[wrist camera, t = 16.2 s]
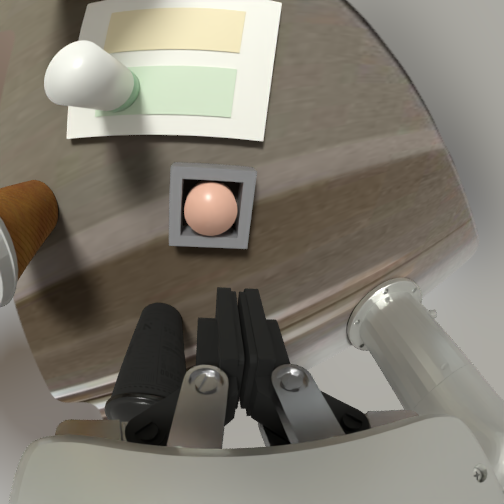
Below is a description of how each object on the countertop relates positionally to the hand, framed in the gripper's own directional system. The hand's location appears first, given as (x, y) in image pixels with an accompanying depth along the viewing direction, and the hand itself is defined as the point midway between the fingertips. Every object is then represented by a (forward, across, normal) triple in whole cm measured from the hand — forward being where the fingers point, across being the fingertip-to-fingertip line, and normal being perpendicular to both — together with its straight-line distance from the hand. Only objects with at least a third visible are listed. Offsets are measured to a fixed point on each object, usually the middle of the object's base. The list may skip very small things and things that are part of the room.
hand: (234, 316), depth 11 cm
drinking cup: (+16, +6, +13) cm, 22 cm away
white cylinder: (+14, +10, -11) cm, 20 cm away
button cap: (+15, +1, -1) cm, 15 cm away
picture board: (+15, +6, -14) cm, 21 cm away
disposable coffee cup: (+15, +20, 0) cm, 25 cm away
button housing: (+16, +1, -1) cm, 16 cm away
